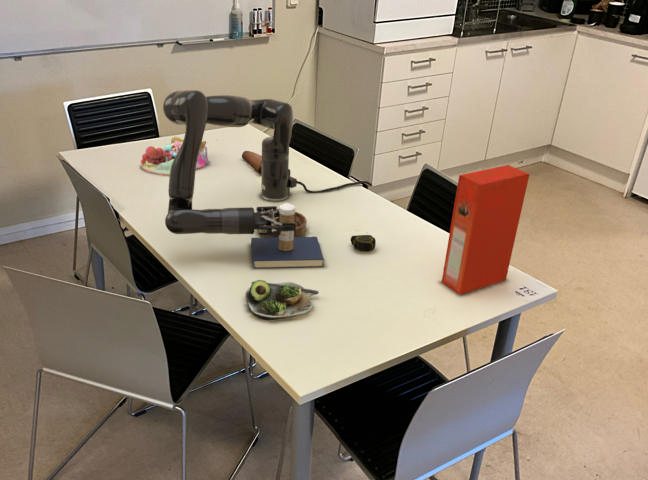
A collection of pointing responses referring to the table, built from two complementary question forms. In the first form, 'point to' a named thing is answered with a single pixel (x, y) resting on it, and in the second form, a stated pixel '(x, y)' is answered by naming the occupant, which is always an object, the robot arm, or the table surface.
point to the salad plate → (278, 300)
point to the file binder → (483, 227)
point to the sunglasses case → (253, 160)
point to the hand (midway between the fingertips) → (294, 220)
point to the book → (286, 253)
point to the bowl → (300, 226)
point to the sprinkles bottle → (286, 236)
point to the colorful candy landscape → (168, 157)
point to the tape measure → (363, 242)
